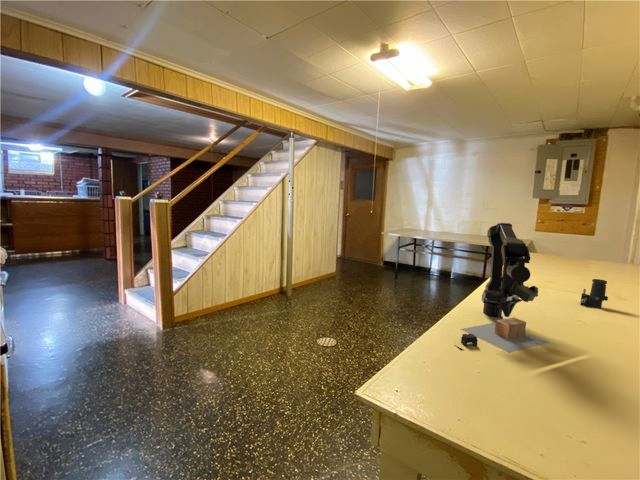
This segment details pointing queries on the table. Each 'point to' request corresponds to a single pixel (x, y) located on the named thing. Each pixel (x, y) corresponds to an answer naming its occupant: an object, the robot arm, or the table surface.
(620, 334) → the table surface
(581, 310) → the table surface
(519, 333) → the walnut post
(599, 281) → the scope
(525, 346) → the slate mat
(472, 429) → the table surface
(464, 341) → the black mounting bracket
